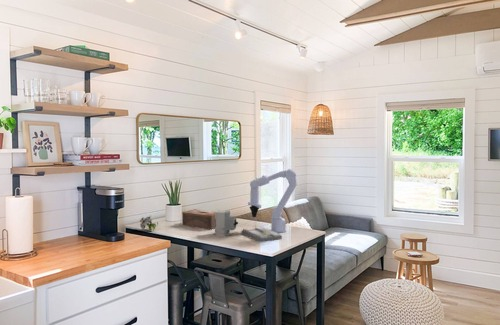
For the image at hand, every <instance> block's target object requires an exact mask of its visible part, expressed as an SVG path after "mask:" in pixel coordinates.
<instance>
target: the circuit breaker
mask: <svg viewBox="0 0 500 325" xmlns="http://www.w3.org/2000/svg"><path fill="white" fill-rule="evenodd" d="M214 212H215V219H216V228H215V229H214V236H225V237H227V236H228V235H229V234H230V233H231V232H230V231H235V230H236V229H237V225H238V224H239V221H237V216H231V210H221V209H220V210H217V211H214Z"/></svg>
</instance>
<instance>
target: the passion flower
mask: <svg viewBox="0 0 500 325" xmlns="http://www.w3.org/2000/svg"><path fill="white" fill-rule="evenodd" d="M152 220H153V218H152V215H149V216H147V217H141V219H140V220H139V223H140V224H139V225H140V228H141V229H140V231H144V229H145V228H146V227H147V228H148V231H149V232H152V231H154V230H155V229H156V227H157V226H159V222H154V223H153V222H152Z"/></svg>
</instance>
